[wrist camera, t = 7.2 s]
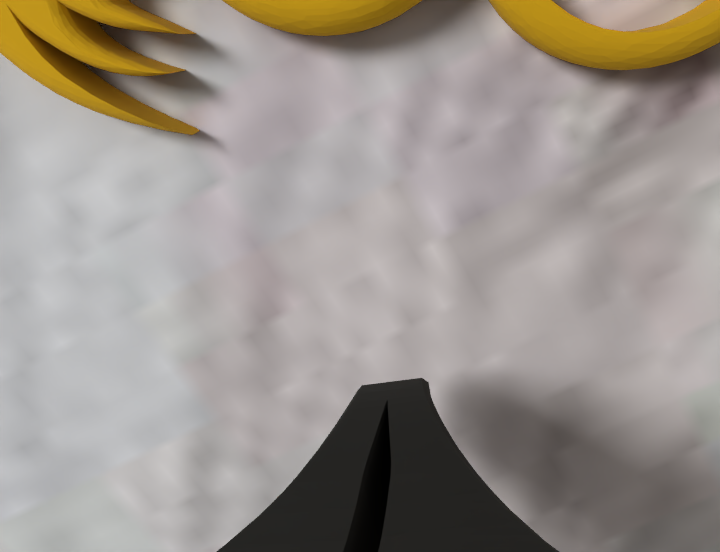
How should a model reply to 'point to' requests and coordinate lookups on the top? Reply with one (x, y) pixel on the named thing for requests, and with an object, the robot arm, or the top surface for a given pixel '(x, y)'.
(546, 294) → the top surface
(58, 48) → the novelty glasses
